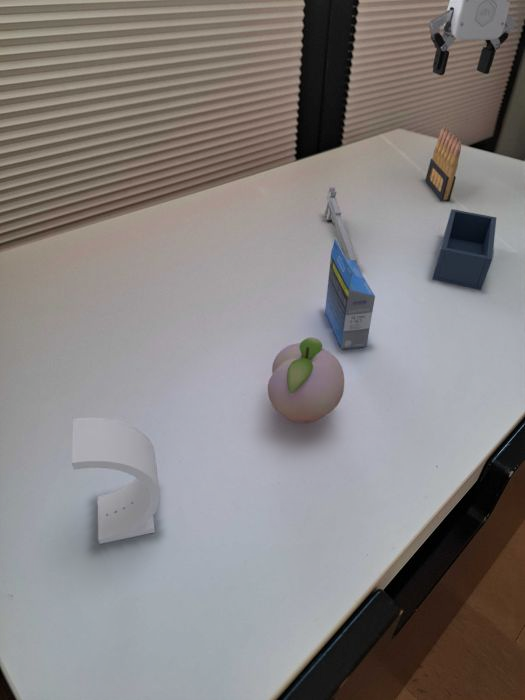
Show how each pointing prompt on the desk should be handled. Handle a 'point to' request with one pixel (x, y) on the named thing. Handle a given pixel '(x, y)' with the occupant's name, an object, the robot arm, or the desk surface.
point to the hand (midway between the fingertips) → (460, 73)
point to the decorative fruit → (305, 382)
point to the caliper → (338, 223)
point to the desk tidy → (466, 249)
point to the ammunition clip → (444, 165)
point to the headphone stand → (124, 455)
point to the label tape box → (348, 301)
